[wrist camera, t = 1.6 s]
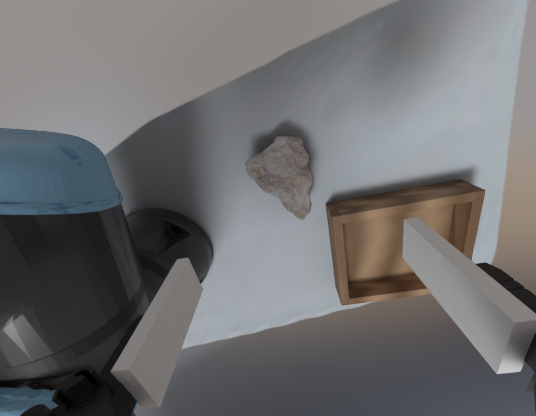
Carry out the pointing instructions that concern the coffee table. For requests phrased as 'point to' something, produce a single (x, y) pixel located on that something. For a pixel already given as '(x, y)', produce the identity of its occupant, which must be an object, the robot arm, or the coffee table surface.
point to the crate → (396, 237)
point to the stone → (284, 173)
